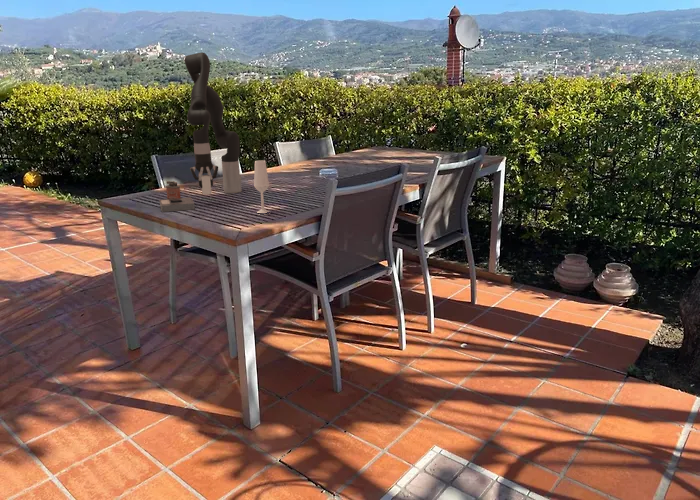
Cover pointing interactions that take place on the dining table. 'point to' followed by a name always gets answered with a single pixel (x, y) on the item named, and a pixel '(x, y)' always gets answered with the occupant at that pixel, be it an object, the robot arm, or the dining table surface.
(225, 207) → the dining table surface
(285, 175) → the dining table surface
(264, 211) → the champagne flute
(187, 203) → the slot holder
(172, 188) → the lighter
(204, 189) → the peg
